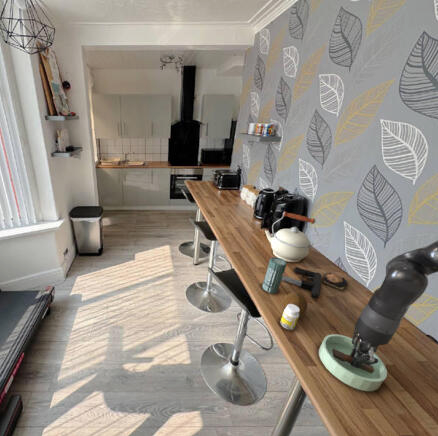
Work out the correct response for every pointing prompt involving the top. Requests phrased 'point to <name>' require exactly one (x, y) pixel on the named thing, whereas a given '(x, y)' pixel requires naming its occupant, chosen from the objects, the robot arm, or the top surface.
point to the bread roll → (335, 281)
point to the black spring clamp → (307, 285)
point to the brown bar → (348, 359)
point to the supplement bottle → (290, 316)
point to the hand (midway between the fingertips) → (353, 363)
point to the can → (274, 275)
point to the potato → (296, 302)
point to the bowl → (344, 369)
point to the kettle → (291, 240)
